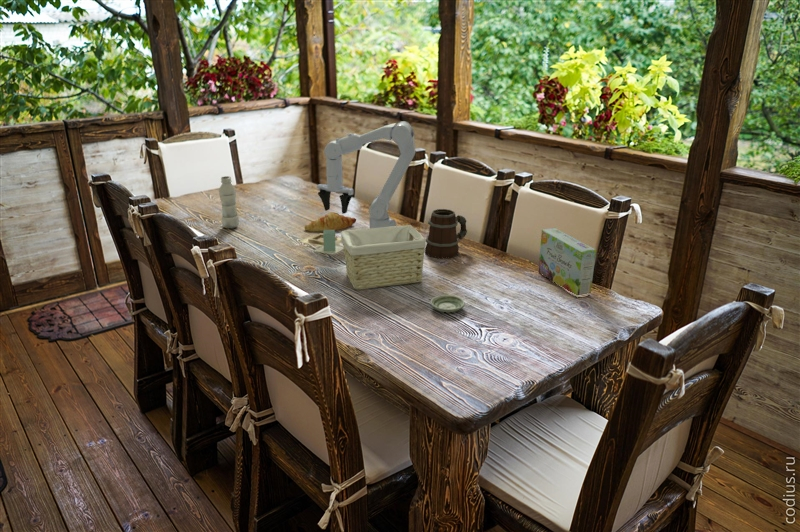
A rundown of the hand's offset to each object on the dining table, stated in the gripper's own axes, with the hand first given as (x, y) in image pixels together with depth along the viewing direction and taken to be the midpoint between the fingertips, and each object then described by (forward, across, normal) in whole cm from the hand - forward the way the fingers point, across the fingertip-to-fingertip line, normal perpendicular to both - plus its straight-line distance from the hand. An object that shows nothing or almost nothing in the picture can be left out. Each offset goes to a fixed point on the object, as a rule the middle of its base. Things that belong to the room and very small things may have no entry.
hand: (335, 211), depth 222 cm
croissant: (+11, +9, -8) cm, 16 cm away
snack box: (+11, -85, +1) cm, 86 cm away
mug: (+11, -42, -7) cm, 44 cm away
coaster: (+10, -6, +12) cm, 17 cm away
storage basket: (+11, -34, +25) cm, 43 cm away
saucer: (+11, -61, +35) cm, 71 cm away
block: (+10, -5, +12) cm, 17 cm away
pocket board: (+10, +2, +6) cm, 12 cm away
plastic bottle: (+11, +43, +10) cm, 45 cm away
